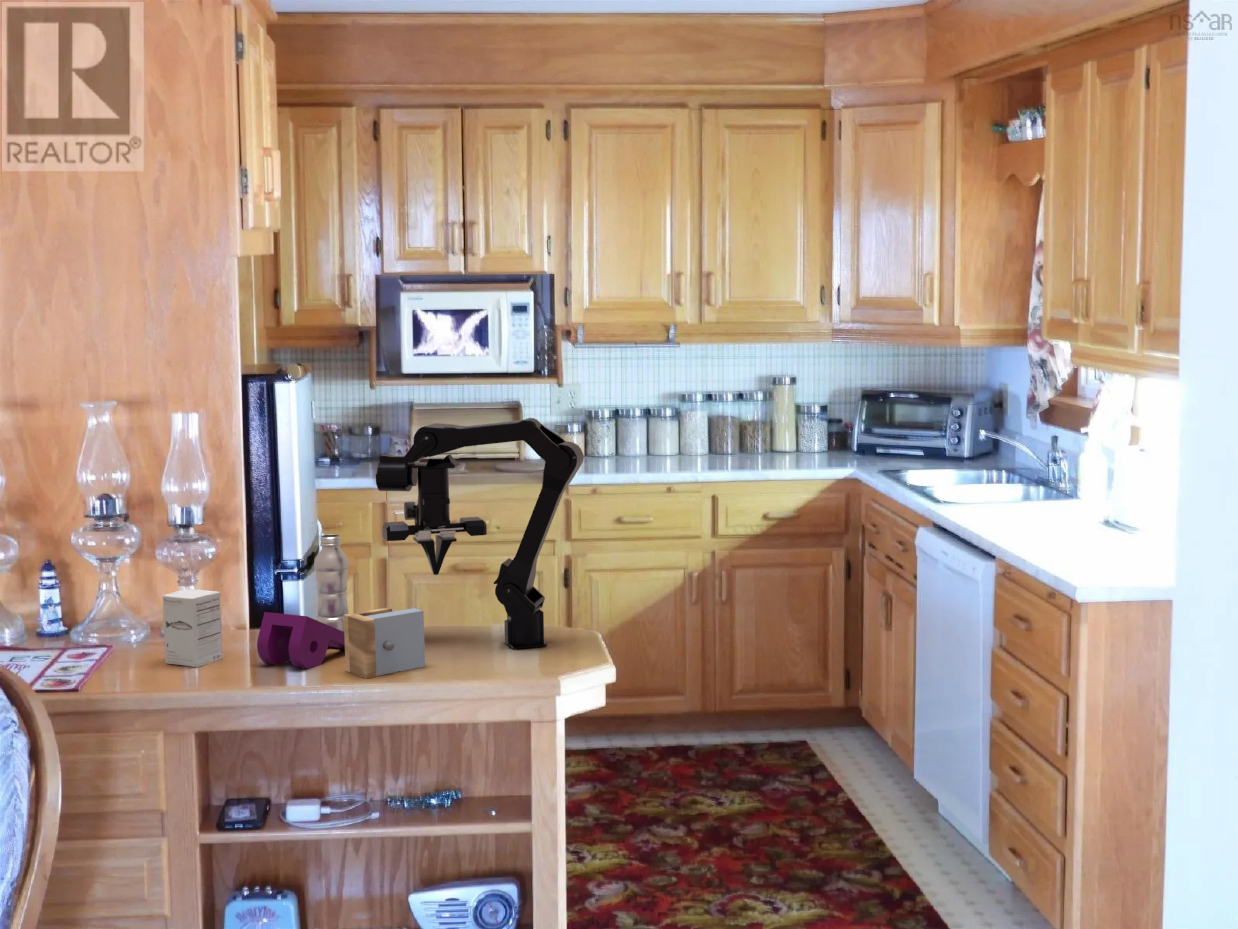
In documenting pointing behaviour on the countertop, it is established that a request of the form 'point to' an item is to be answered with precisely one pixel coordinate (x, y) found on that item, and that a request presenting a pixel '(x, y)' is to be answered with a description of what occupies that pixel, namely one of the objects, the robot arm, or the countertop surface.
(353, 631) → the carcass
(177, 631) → the supplement box
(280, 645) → the mounting bracket
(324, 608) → the plastic bottle
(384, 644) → the pale grey oblong block
